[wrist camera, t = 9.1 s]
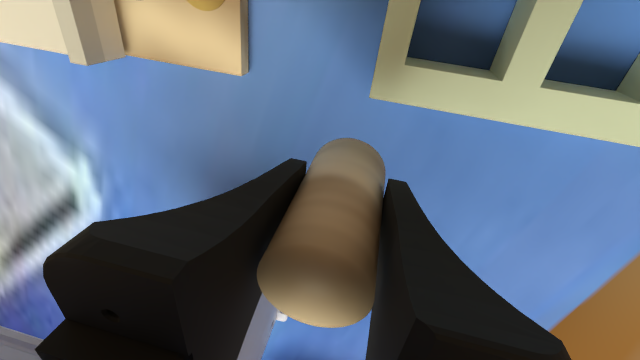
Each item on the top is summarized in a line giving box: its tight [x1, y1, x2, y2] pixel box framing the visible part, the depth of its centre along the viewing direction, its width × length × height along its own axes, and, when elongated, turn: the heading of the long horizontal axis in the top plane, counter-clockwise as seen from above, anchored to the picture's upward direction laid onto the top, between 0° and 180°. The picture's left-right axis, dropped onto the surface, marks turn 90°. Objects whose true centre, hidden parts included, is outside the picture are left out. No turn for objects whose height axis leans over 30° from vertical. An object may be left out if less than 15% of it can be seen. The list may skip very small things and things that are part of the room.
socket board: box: [369, 0, 640, 147], centre depth 14 cm, size 8×13×2 cm, turn 83°
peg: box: [257, 138, 385, 328], centre depth 10 cm, size 3×3×6 cm
